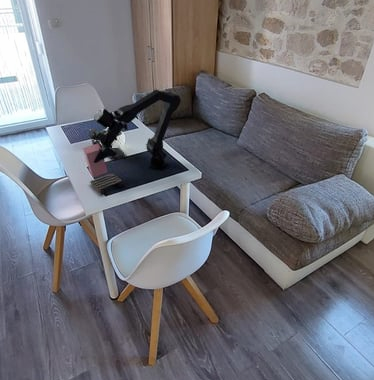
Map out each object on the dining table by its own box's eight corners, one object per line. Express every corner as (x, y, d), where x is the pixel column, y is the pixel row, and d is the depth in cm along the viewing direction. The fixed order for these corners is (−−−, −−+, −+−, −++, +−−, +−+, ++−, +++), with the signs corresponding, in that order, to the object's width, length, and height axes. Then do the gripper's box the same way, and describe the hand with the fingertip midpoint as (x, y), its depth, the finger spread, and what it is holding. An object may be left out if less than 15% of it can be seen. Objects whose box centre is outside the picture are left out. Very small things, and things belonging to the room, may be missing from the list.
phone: (110, 157, 169) (102, 146, 180) (111, 159, 170) (102, 148, 180) (124, 154, 173) (115, 143, 183) (124, 156, 173) (115, 145, 184)
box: (103, 166, 150) (97, 143, 142) (107, 172, 146) (101, 149, 138) (89, 171, 148) (82, 147, 140) (93, 177, 144) (86, 153, 136)
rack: (112, 177, 155) (112, 172, 153) (123, 186, 148) (122, 180, 147) (90, 186, 148) (89, 180, 146) (100, 195, 142) (99, 190, 140)
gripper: (91, 116, 142) (71, 143, 143) (105, 130, 129) (84, 160, 130) (109, 128, 150) (91, 154, 151) (125, 143, 137) (104, 171, 138)
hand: (92, 159), depth 142 cm, fingers closed on box, 6 cm apart
